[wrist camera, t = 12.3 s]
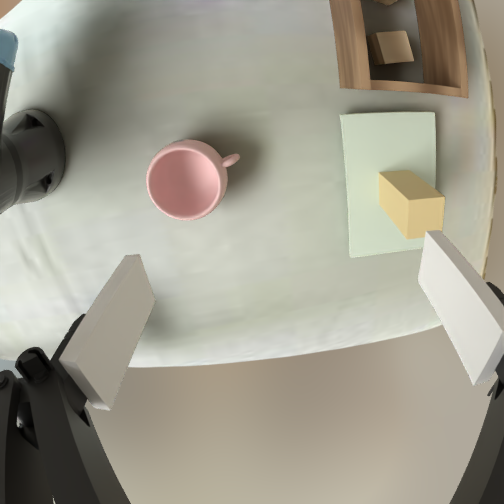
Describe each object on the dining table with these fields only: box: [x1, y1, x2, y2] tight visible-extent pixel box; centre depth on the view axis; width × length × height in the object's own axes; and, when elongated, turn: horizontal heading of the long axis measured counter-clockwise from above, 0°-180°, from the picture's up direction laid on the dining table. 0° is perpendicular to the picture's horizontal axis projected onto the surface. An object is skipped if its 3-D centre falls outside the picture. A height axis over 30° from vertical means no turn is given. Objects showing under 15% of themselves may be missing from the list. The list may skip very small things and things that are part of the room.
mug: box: [146, 139, 240, 220], centre depth 38 cm, size 12×10×6 cm
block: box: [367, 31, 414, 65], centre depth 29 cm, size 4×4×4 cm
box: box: [329, 0, 468, 98], centre depth 24 cm, size 13×20×10 cm, turn 7°
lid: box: [340, 111, 445, 258], centre depth 35 cm, size 13×20×12 cm, turn 10°
